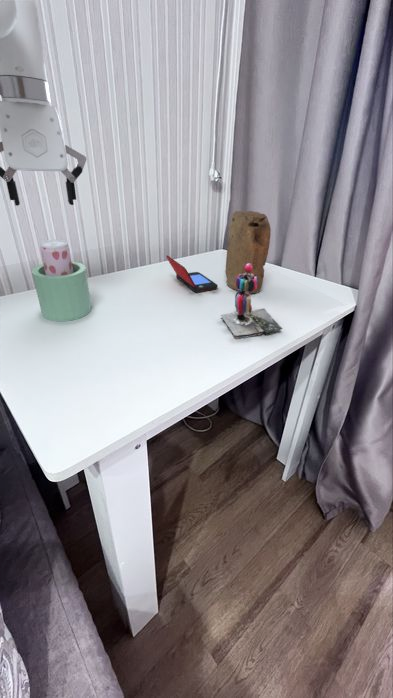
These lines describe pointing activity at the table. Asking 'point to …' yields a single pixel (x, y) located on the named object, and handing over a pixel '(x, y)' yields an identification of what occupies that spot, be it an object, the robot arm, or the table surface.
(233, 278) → the block
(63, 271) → the beverage can
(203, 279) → the handheld console
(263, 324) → the statue
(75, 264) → the jar
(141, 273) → the table surface
